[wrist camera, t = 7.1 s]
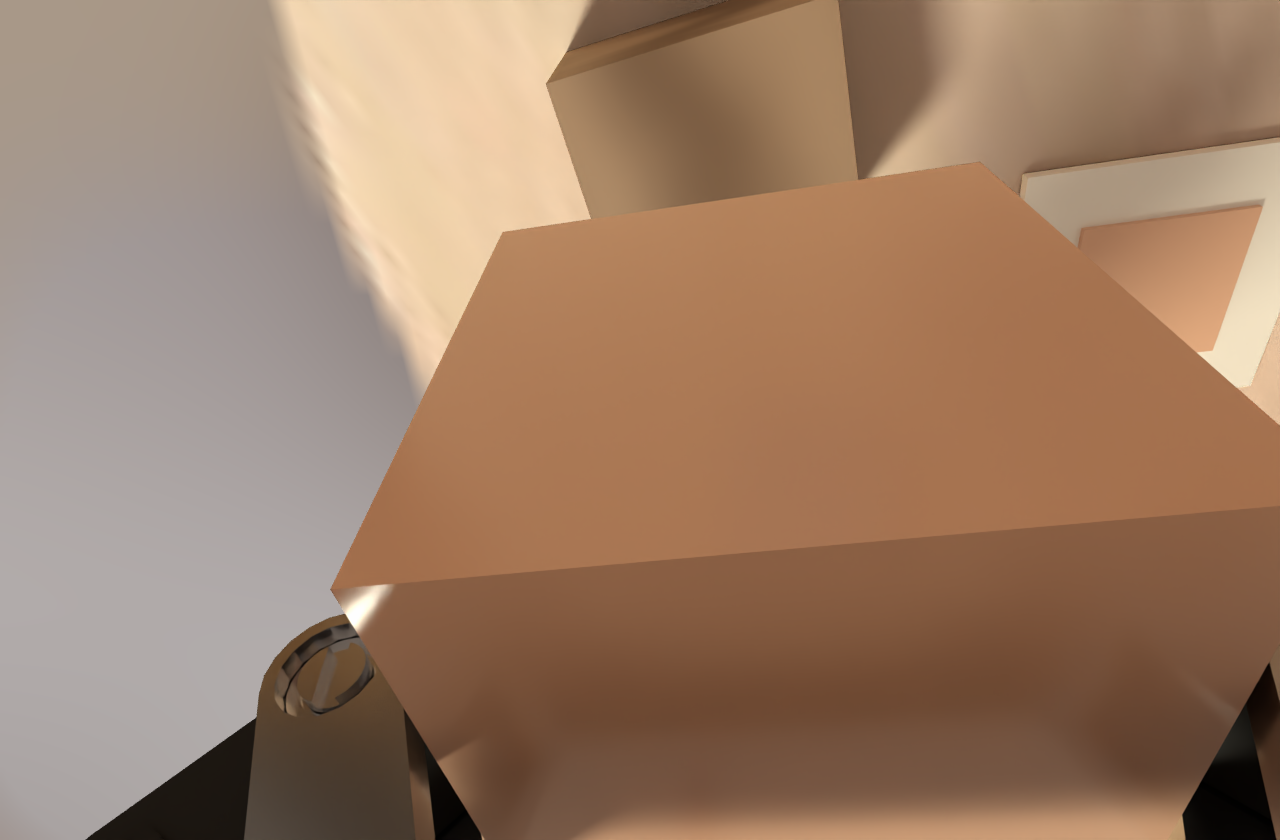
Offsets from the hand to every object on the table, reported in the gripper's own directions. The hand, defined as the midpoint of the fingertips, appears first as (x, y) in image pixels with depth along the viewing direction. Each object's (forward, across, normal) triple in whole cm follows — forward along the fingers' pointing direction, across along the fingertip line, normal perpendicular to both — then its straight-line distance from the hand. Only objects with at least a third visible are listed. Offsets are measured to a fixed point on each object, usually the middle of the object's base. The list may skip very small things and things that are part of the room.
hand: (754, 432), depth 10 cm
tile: (+15, -14, +7) cm, 22 cm away
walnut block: (+15, 0, 0) cm, 15 cm away
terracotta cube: (+1, 0, 0) cm, 1 cm away
